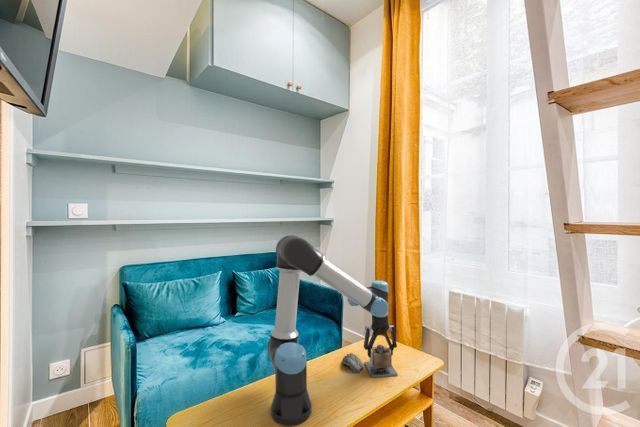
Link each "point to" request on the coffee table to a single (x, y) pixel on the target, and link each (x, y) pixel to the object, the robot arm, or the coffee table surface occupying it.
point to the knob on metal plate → (380, 371)
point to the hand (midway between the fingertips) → (380, 362)
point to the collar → (382, 358)
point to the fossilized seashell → (353, 362)
